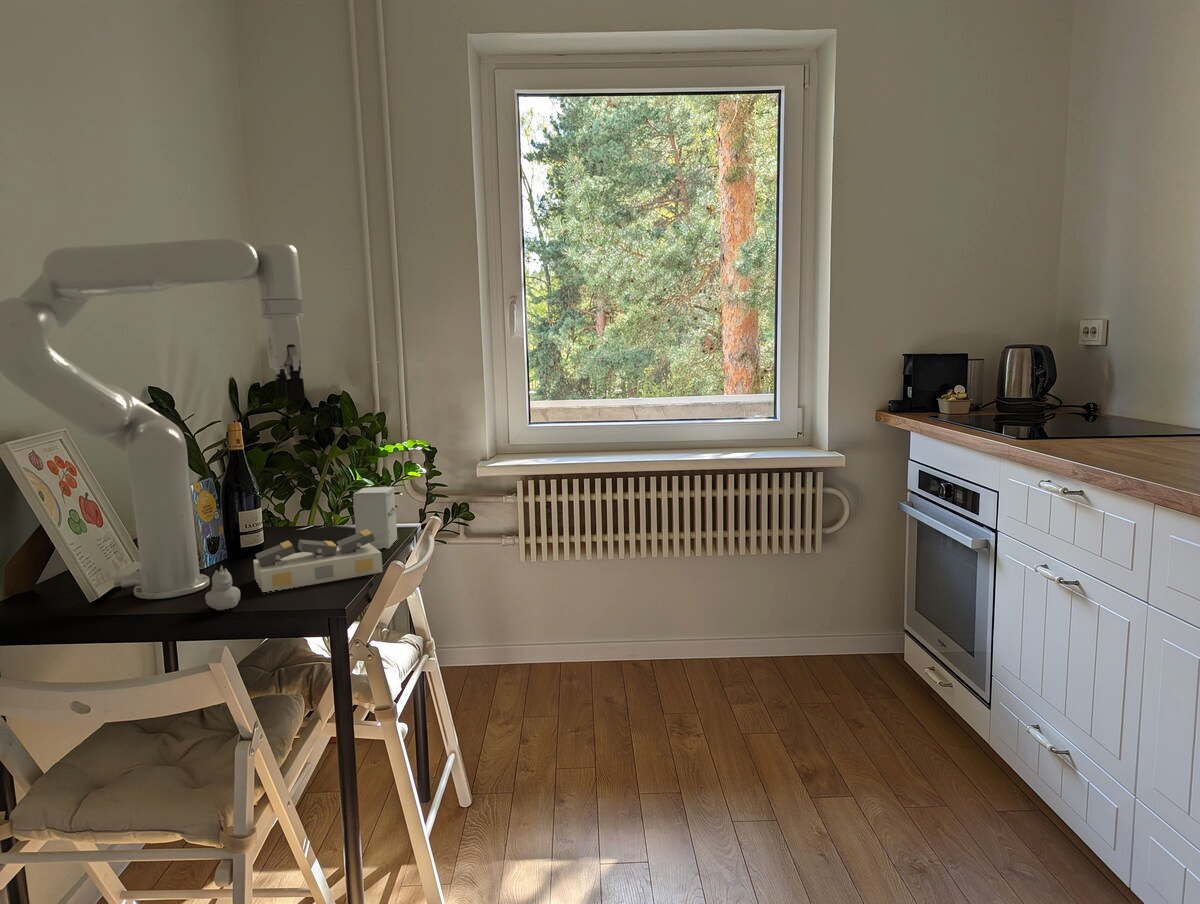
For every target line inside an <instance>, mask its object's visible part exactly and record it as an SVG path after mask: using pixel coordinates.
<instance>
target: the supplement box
mask: <svg viewBox="0 0 1200 904" xmlns="http://www.w3.org/2000/svg"><path fill="white" fill-rule="evenodd" d="M395 497H396V496H395V487H394V486H378V487H377V486H376V487H375V486H374V487H362V488H360V489H359V490H357V491H356V492H354V493H352V500H353V512H354V513H353V514H354V526H355V527H354V528H355V534H357V533H359V532H360V531H362V530H365V529H367V530H369V531H370V532H372V533H373V536H374V539H375V541H373V542H370V544H371V545H372V546H374V547H375V548H376V549H378V550H383V549H382V548H386V549H385V550H388V549H390V548H391V547H392V546H393V545H394V544H395V543H396V542H397V541H398V530H397V529H398V528H397V527H398V526H397V514H396V513H397V512H396V499H395ZM396 540H397V541H396ZM395 541H396V542H395ZM394 542H395V543H394ZM393 543H394V544H393Z"/></svg>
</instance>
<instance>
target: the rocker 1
mask: <svg viewBox="0 0 1200 904" xmlns="http://www.w3.org/2000/svg"><path fill="white" fill-rule="evenodd" d="M294 553H297V552H296V550H295V547H294V545H293V543H292V542H291V541H289V540H285V541H283V542H280V543H279V544H277V545H275V546H272V547H270V548H267V549H264V550H262V551H260V552H257V553H255V557H256V559H257V560H258V562H259V564H260V565H261V566H264V565H266V564H269V563H271V562H274V561H276V560H279V559H282V558H284V557H287V556H289V555H292V554H294Z"/></svg>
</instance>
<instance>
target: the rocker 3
mask: <svg viewBox="0 0 1200 904" xmlns="http://www.w3.org/2000/svg"><path fill="white" fill-rule="evenodd" d="M373 541H375V539H374V536H373V533H372V532H370V531H369V530H367V529H365V530H362V531H360V532H359V533H357V534H356V533H354V534H353V535H350V536H348V537H344V538H342V539H339V540H338V541H336V544H337V547H339V549H340V550H341V551H342V552H343V553H346V552H348V551H351V550H353V549H356V548H358V547H361V546H363V545H366V544H368V543H370V542H373Z"/></svg>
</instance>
